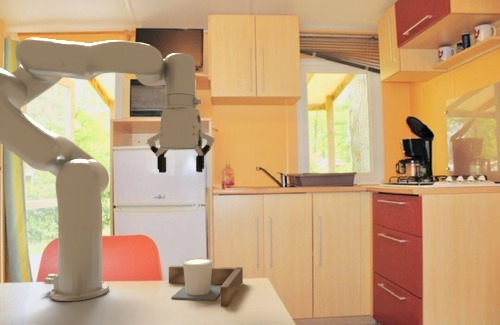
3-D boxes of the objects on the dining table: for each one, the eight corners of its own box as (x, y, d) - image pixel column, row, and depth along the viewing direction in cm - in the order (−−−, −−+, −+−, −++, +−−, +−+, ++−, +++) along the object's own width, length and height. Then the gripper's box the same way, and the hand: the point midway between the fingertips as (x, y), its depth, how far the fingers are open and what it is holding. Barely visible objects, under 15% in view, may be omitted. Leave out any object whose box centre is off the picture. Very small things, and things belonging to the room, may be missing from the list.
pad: (171, 298, 83) (171, 297, 83) (186, 285, 93) (186, 284, 93) (214, 301, 81) (214, 299, 81) (225, 287, 91) (225, 285, 91)
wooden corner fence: (142, 302, 81) (142, 283, 81) (171, 280, 98) (171, 265, 98) (227, 306, 78) (227, 287, 78) (242, 283, 94) (242, 267, 95)
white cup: (178, 294, 84) (178, 263, 85) (190, 286, 91) (190, 257, 91) (206, 296, 83) (206, 265, 83) (216, 287, 89) (216, 258, 90)
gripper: (217, 105, 96) (218, 172, 95) (154, 108, 99) (154, 172, 98) (209, 99, 88) (210, 171, 88) (141, 103, 91) (141, 172, 91)
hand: (180, 172), depth 93 cm, fingers open, 9 cm apart
